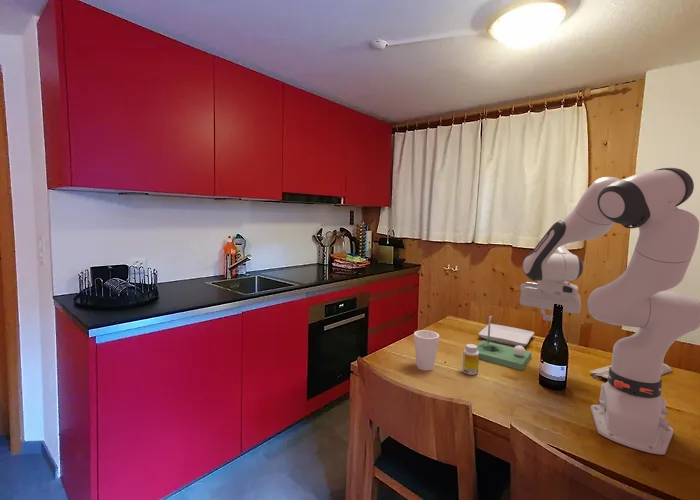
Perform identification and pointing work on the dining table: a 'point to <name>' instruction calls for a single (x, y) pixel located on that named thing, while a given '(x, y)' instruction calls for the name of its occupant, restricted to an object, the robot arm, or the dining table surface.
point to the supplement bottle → (470, 359)
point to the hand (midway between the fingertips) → (547, 320)
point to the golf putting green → (502, 355)
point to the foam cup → (426, 348)
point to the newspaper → (604, 370)
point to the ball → (519, 350)
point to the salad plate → (507, 335)
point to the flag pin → (489, 328)
